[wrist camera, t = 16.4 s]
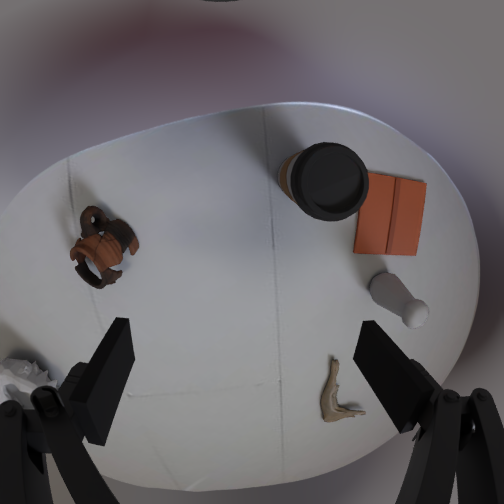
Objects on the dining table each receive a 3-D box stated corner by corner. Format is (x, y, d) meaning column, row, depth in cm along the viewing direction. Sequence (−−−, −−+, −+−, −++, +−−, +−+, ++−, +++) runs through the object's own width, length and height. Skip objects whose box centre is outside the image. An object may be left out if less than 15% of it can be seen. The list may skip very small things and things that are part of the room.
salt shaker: (393, 265, 47) (437, 294, 35) (393, 294, 49) (433, 327, 36) (364, 273, 47) (404, 307, 34) (366, 303, 49) (402, 341, 36)
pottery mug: (151, 262, 43) (120, 297, 37) (111, 259, 47) (81, 289, 40) (123, 190, 37) (82, 220, 31) (84, 197, 40) (47, 223, 34)
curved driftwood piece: (329, 425, 58) (331, 431, 56) (292, 375, 52) (294, 382, 50) (364, 408, 57) (367, 414, 55) (335, 355, 51) (338, 361, 49)
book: (362, 171, 42) (364, 171, 41) (424, 183, 44) (427, 183, 43) (352, 252, 46) (355, 253, 45) (414, 254, 47) (416, 256, 46)
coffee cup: (333, 192, 43) (383, 206, 28) (283, 214, 43) (314, 238, 28) (312, 140, 40) (357, 129, 26) (260, 161, 40) (281, 158, 26)
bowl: (0, 329, 43) (-24, 352, 34) (74, 365, 47) (56, 397, 37) (12, 392, 48) (-4, 416, 39) (79, 424, 52) (67, 453, 42)
